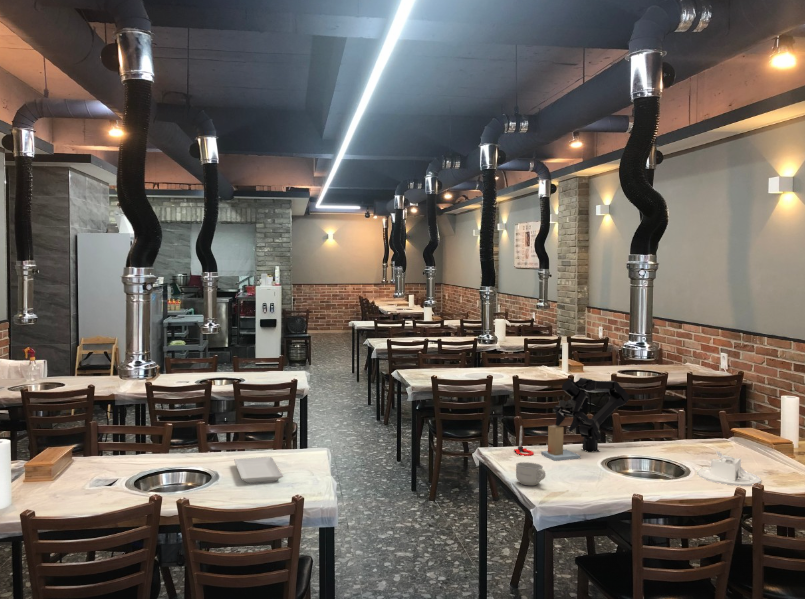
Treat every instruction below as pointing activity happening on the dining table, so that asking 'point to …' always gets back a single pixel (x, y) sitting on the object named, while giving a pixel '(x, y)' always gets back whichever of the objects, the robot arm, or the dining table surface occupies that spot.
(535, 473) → the teacup
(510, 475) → the dining table surface
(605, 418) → the robot arm
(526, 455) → the tow hook
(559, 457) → the mat
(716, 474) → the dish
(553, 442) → the gold metal block
